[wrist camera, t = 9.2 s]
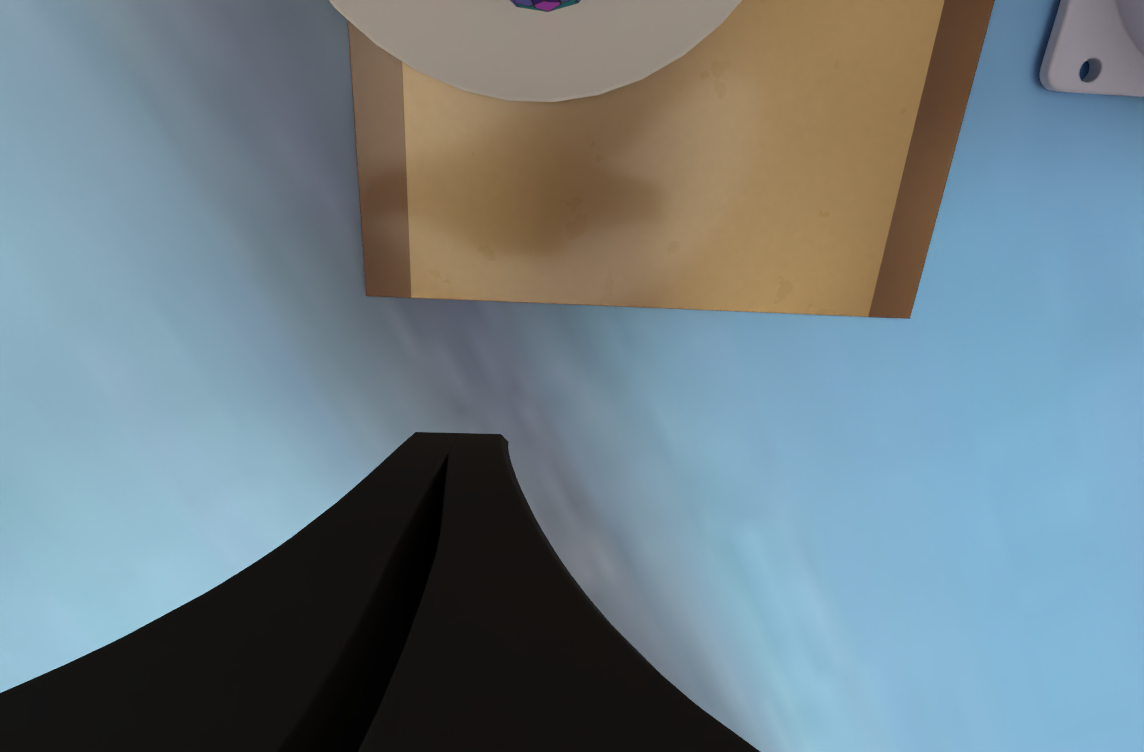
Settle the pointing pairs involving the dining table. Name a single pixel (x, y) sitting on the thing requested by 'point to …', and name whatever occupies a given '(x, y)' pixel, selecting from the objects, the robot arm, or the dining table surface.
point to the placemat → (681, 169)
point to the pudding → (536, 41)
